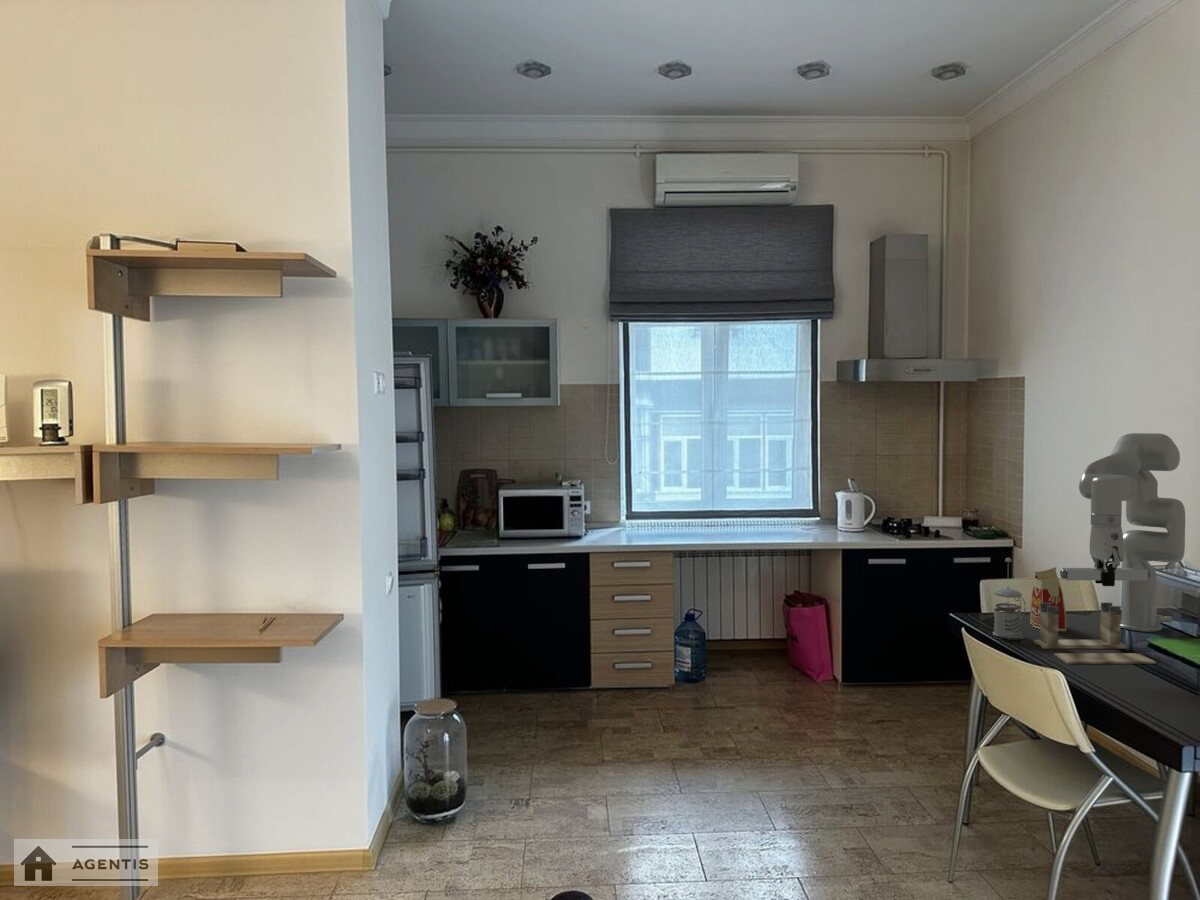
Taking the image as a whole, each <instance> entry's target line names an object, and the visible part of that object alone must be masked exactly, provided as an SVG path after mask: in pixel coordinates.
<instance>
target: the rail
mask: <svg viewBox="0 0 1200 900" xmlns="http://www.w3.org/2000/svg"><path fill="white" fill-rule="evenodd" d="M1059 571H1060V572H1059V576H1060V578H1061V579H1063V580H1066V581H1095V580H1102V572H1104V568H1095V567H1062V569H1060V570H1059ZM1148 578H1150V572H1149V570H1147V569H1144V568H1122V567H1117V568H1116V572H1115V581H1122V580H1145V581H1148Z"/></svg>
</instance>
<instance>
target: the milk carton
mask: <svg viewBox="0 0 1200 900" xmlns="http://www.w3.org/2000/svg"><path fill="white" fill-rule="evenodd" d="M1033 573H1034V574H1035V577H1034V581H1033V587H1032V590H1031V591H1032V592H1031V604H1030V621H1029V622H1030V625H1031V624H1032V625H1033V626H1032V625H1031V626H1032V628H1033V627H1035V628H1034V629H1036V628H1038V629H1037V630H1039V629H1040V603H1051V606H1058V607H1059V609H1058V632H1067V612H1066V611H1067V610H1066V606H1065V600H1064V599H1065V598H1064V594H1063V590H1062V587H1061V583H1060V579H1059V577H1058V574H1057V566H1053V567H1051V568H1048V569H1044V570H1040V571H1034V572H1033Z"/></svg>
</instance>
